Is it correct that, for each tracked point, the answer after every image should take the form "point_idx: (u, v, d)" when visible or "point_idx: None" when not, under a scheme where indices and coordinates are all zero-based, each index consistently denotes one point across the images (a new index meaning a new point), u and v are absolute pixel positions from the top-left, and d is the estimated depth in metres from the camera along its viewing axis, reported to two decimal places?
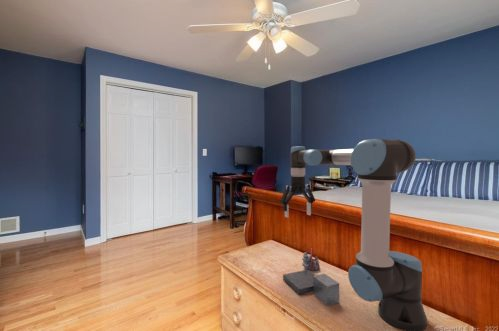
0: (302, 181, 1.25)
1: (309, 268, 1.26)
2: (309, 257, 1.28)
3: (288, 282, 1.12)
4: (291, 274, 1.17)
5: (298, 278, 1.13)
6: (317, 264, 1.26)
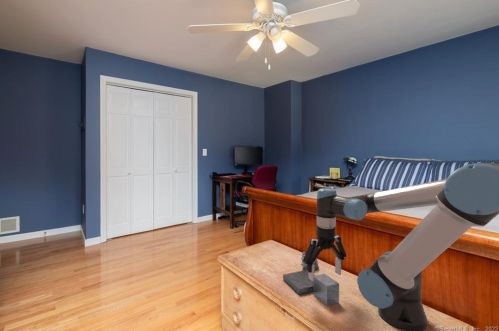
0: (332, 235, 0.97)
1: None
2: None
3: (288, 282, 1.12)
4: (291, 274, 1.17)
5: (298, 278, 1.13)
6: (316, 264, 1.27)
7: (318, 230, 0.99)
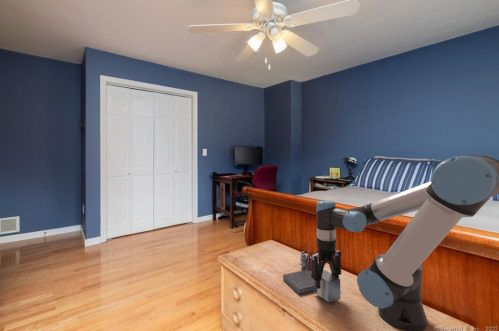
0: (332, 247, 0.97)
1: (306, 267, 1.27)
2: (306, 256, 1.29)
3: (288, 282, 1.12)
4: (291, 274, 1.17)
5: (298, 278, 1.13)
6: None
7: (318, 242, 0.99)
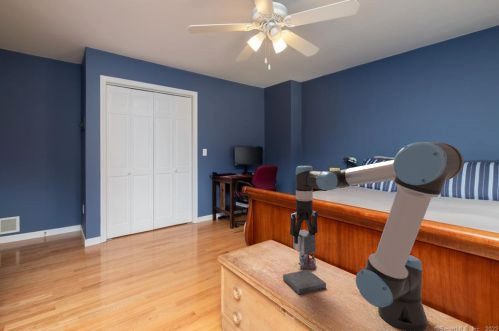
0: (309, 206, 1.08)
1: (304, 267, 1.27)
2: (305, 256, 1.29)
3: (288, 282, 1.12)
4: (291, 274, 1.17)
5: (298, 278, 1.13)
6: (313, 263, 1.28)
7: (297, 203, 1.10)
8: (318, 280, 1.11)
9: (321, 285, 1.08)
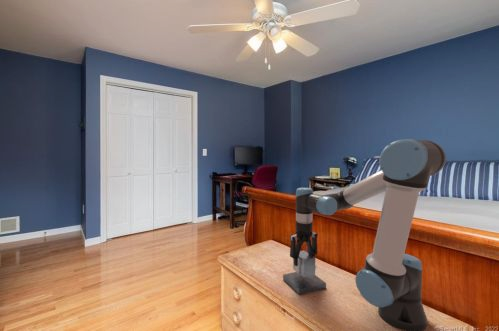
0: (309, 229, 1.08)
1: None
2: None
3: (288, 282, 1.12)
4: (291, 274, 1.17)
5: (298, 278, 1.13)
6: None
7: (297, 225, 1.10)
8: (318, 280, 1.11)
9: (321, 285, 1.08)
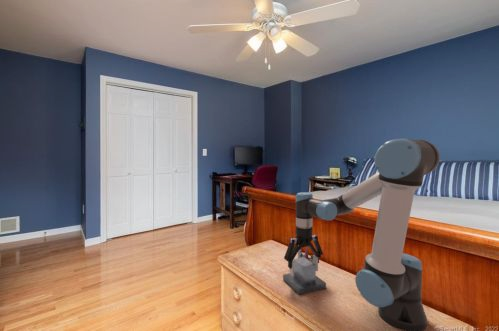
0: (309, 234, 1.09)
1: None
2: (303, 255, 1.30)
3: (288, 282, 1.12)
4: None
5: None
6: None
7: (297, 230, 1.10)
8: (318, 280, 1.11)
9: (321, 285, 1.08)
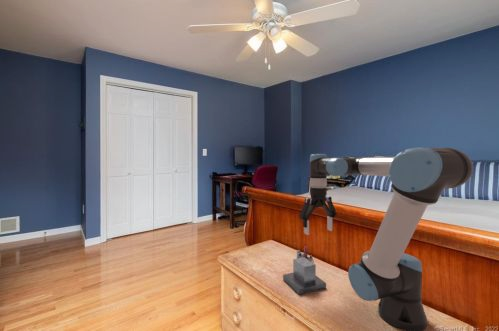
0: (324, 193, 1.10)
1: None
2: (302, 255, 1.31)
3: (288, 282, 1.12)
4: (291, 274, 1.17)
5: None
6: None
7: (311, 190, 1.12)
8: (318, 280, 1.11)
9: (321, 285, 1.08)
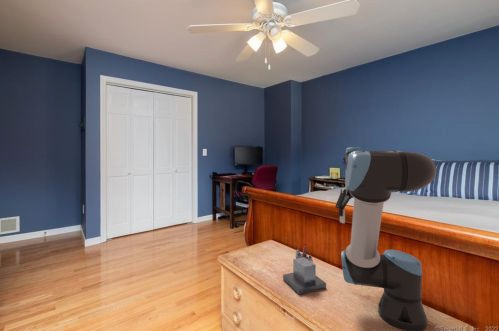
0: None
1: None
2: (301, 254, 1.31)
3: (288, 282, 1.12)
4: (291, 274, 1.17)
5: None
6: None
7: None
8: (318, 280, 1.11)
9: (321, 285, 1.08)
